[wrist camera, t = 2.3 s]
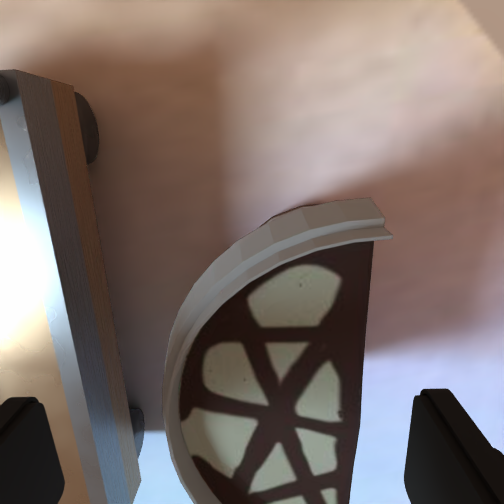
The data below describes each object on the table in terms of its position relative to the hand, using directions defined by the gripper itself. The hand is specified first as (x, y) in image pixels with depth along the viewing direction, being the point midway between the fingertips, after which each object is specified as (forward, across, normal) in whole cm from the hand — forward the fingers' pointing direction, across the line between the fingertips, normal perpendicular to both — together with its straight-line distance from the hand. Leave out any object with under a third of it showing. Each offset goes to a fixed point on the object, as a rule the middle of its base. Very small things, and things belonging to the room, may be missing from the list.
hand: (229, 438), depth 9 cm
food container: (+11, -1, +1) cm, 11 cm away
